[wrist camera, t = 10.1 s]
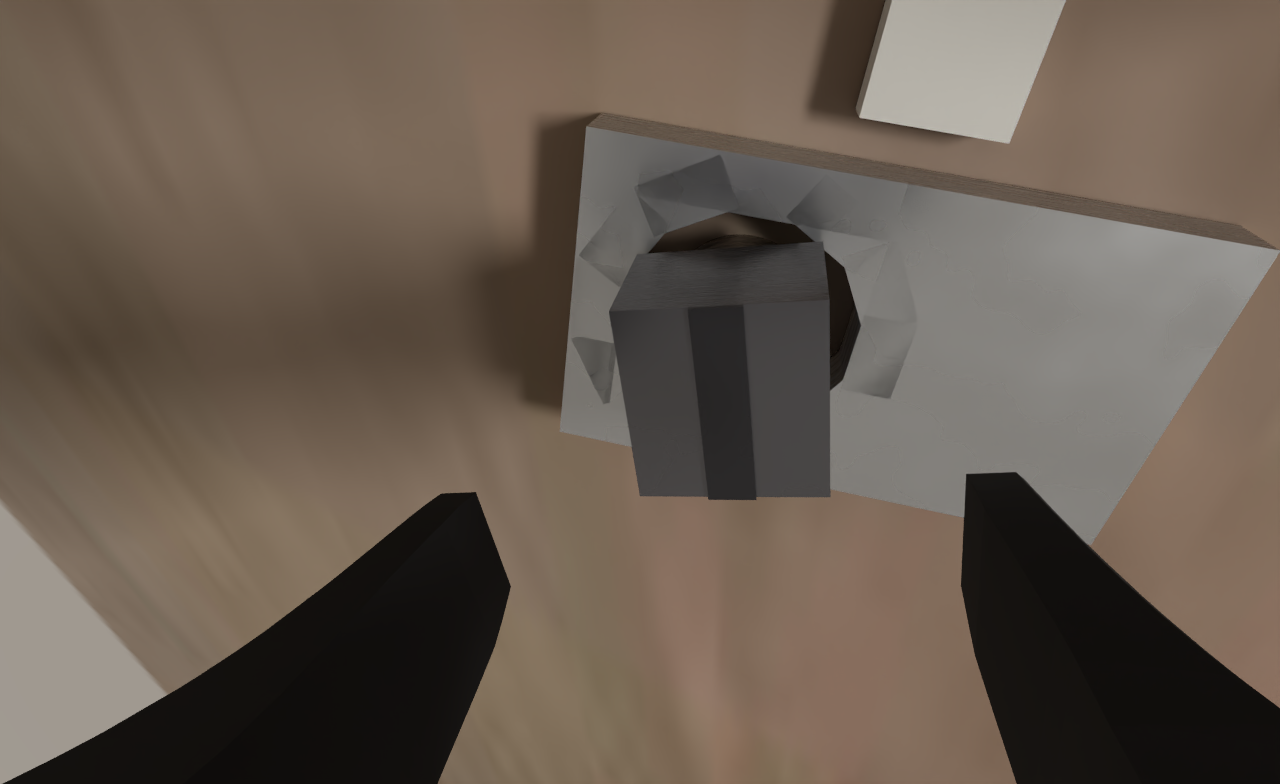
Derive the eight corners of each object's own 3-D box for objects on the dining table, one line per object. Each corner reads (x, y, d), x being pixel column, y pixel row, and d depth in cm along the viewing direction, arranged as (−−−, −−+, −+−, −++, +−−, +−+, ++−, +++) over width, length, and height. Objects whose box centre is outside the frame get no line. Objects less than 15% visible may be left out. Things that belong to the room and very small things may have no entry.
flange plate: (1240, 225, 15) (1286, 254, 14) (1071, 506, 20) (1093, 550, 18) (601, 113, 17) (583, 128, 15) (573, 402, 21) (557, 435, 19)
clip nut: (820, 211, 17) (829, 302, 13) (821, 376, 19) (830, 500, 15) (651, 225, 18) (607, 313, 14) (671, 380, 20) (639, 498, 16)
